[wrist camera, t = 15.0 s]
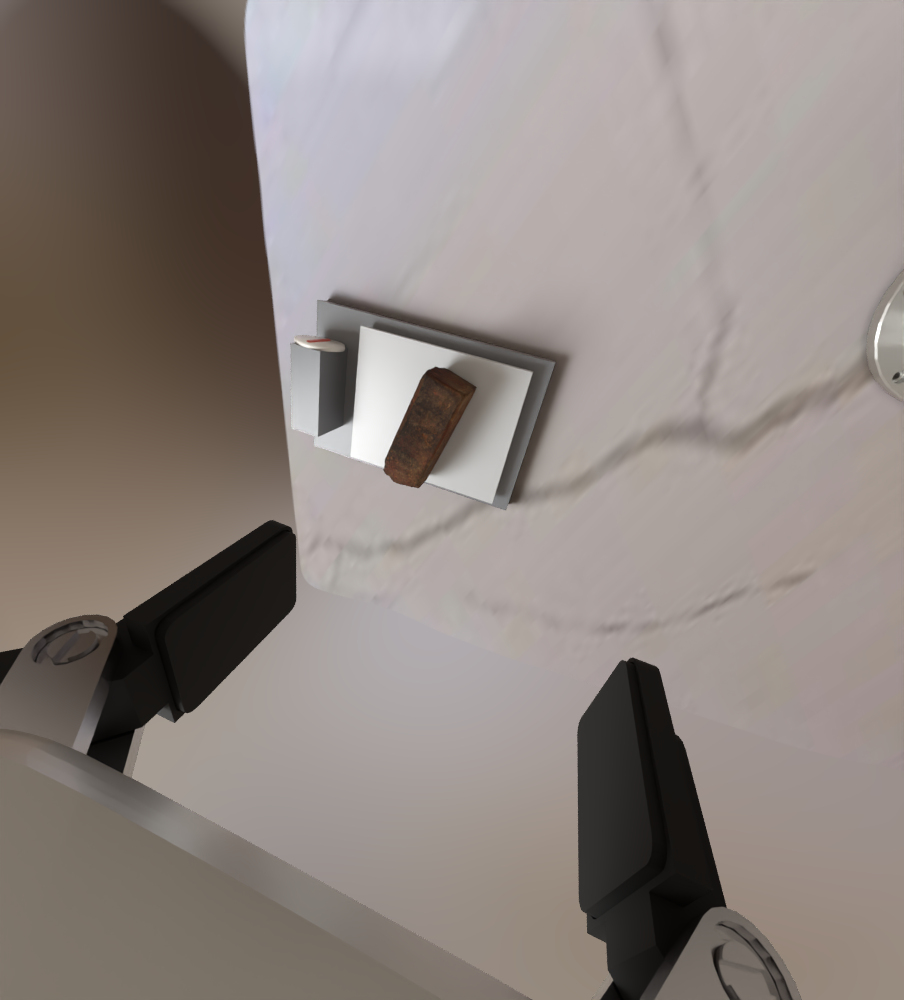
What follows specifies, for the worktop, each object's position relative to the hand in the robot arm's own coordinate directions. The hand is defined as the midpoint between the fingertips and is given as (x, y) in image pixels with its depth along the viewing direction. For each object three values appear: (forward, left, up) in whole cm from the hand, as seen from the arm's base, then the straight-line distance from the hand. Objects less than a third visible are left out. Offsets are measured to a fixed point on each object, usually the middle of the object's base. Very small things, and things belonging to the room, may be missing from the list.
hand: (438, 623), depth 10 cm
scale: (+11, +3, -28) cm, 31 cm away
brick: (+8, +3, -26) cm, 27 cm away
